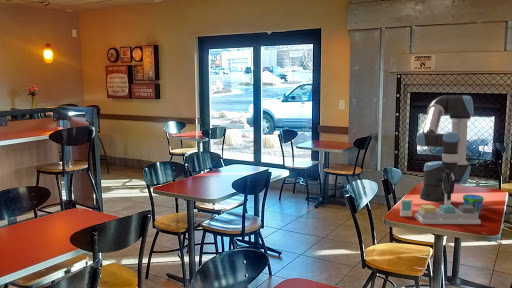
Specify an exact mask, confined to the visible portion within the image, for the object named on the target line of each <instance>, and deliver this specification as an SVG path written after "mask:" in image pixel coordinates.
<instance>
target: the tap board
mask: <svg viewBox="0 0 512 288" xmlns="http://www.w3.org/2000/svg"><path fill="white" fill-rule="evenodd" d="M479 216H480V214H478V213H477V212H475V213H462V212H460V211H459V208H455V213H442V212H441V211H440V208H436V213H423V212H422V211H421V208H417V210H416V213H414V218H415V219H416V220H417V221H418V222H419V223H420V224H422V225H423V224H424V225H425V224H426V225H429V224H430V225H431V224H432V225H481V224H482V223H481V222H482V220H481V219H480V218H479Z"/></svg>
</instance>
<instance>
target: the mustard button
mask: <svg viewBox="0 0 512 288" xmlns="http://www.w3.org/2000/svg"><path fill="white" fill-rule="evenodd" d="M420 209H421V211H422V212H423V213H436V209H437V208H436V207H435V206H434V205H433V204H421V205H420Z"/></svg>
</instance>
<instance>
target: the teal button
mask: <svg viewBox="0 0 512 288" xmlns="http://www.w3.org/2000/svg"><path fill="white" fill-rule="evenodd" d="M439 209H440V211H441V212H442V213H455V209H456V207H455V206H454V205H452V204H451V206H445V204H439Z"/></svg>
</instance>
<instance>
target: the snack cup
mask: <svg viewBox="0 0 512 288" xmlns="http://www.w3.org/2000/svg"><path fill="white" fill-rule="evenodd" d="M484 198H485V197H484V196H482V195H479V194H463V195H462V199H463V200H462V201H463V205H471V206H472V207H474V208H475V212H477V213H478V214H479V215H481V209H482V207H483V206H482V205H483V202H484V200H485V199H484Z"/></svg>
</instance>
